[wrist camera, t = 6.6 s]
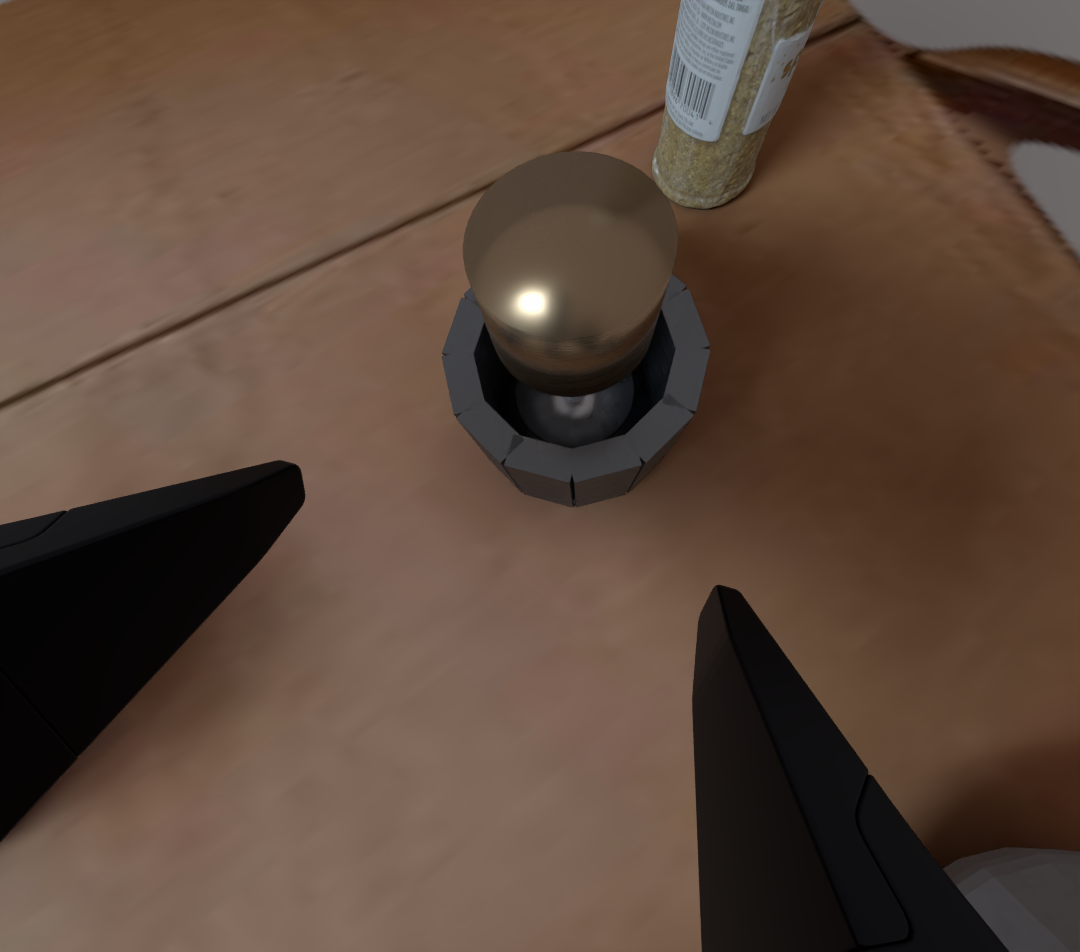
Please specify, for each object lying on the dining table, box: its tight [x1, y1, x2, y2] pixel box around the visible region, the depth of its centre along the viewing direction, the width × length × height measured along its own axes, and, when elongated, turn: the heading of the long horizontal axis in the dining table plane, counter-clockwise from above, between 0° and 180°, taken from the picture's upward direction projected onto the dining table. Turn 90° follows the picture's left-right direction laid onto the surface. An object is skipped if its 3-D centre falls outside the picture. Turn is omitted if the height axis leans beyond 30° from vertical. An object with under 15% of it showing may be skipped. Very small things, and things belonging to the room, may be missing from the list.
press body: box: [442, 274, 710, 507], centre depth 16 cm, size 10×8×5 cm
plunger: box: [463, 152, 678, 449], centre depth 13 cm, size 4×4×8 cm
